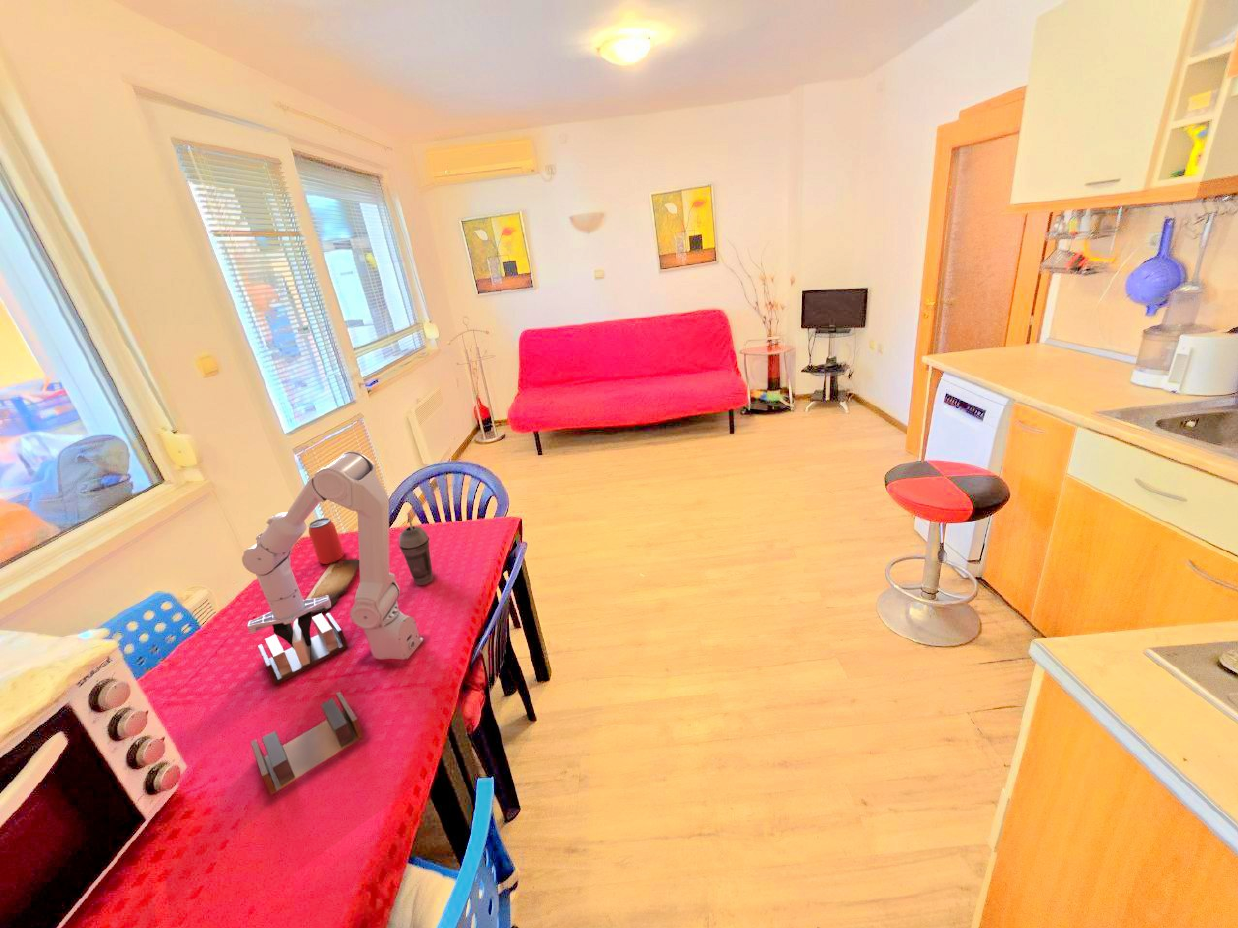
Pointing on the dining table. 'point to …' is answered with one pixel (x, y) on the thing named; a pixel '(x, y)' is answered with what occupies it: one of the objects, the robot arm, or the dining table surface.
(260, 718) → the dining table surface
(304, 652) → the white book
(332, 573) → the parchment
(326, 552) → the beer can
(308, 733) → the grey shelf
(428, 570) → the beverage cup
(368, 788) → the dining table surface
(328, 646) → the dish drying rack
